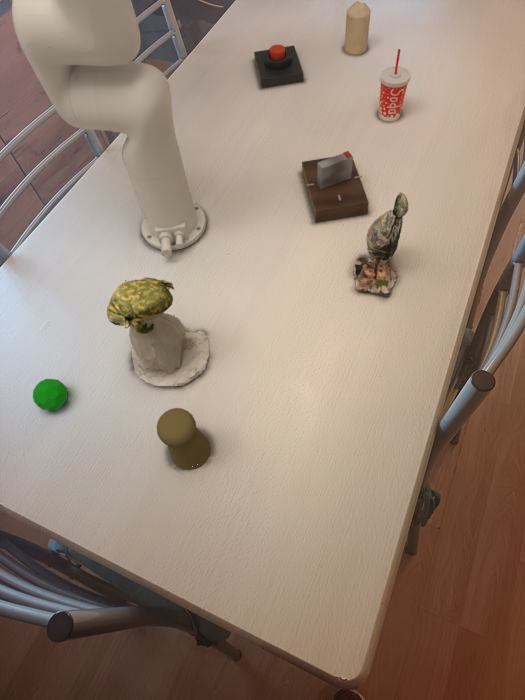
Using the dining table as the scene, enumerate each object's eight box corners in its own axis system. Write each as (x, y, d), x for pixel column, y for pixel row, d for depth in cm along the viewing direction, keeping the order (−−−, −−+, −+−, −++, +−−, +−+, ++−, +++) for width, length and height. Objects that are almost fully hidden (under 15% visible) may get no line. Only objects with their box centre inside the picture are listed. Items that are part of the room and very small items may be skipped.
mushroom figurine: (187, 400, 78) (158, 340, 62) (118, 375, 82) (73, 311, 66) (219, 339, 84) (199, 270, 68) (153, 318, 87) (119, 246, 71)
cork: (211, 429, 76) (197, 399, 66) (210, 469, 73) (195, 443, 63) (171, 432, 76) (152, 402, 66) (169, 471, 73) (148, 446, 63)
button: (286, 59, 117) (286, 51, 116) (271, 61, 117) (270, 54, 115) (283, 50, 119) (283, 43, 117) (269, 53, 119) (268, 45, 117)
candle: (341, 45, 124) (343, 1, 116) (361, 40, 125) (365, -4, 116) (349, 57, 121) (352, 12, 113) (370, 51, 122) (375, 7, 113)
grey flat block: (321, 189, 95) (321, 167, 91) (316, 184, 96) (317, 161, 92) (351, 178, 96) (353, 155, 92) (346, 172, 97) (348, 149, 92)
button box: (303, 82, 118) (303, 65, 115) (261, 88, 118) (260, 72, 114) (294, 54, 124) (294, 37, 121) (254, 60, 124) (253, 44, 121)
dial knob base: (368, 214, 95) (370, 201, 92) (313, 223, 95) (313, 210, 92) (351, 165, 102) (353, 152, 100) (300, 174, 102) (300, 161, 99)
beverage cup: (373, 122, 108) (381, 57, 96) (376, 105, 111) (385, 40, 99) (402, 124, 107) (413, 59, 95) (404, 107, 110) (416, 41, 98)
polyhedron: (36, 401, 81) (21, 388, 76) (61, 381, 82) (48, 367, 78) (52, 421, 78) (38, 409, 74) (78, 400, 80) (65, 387, 76)
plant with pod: (408, 256, 89) (431, 164, 72) (387, 304, 84) (407, 217, 67) (364, 243, 92) (377, 151, 74) (342, 289, 87) (350, 202, 70)
